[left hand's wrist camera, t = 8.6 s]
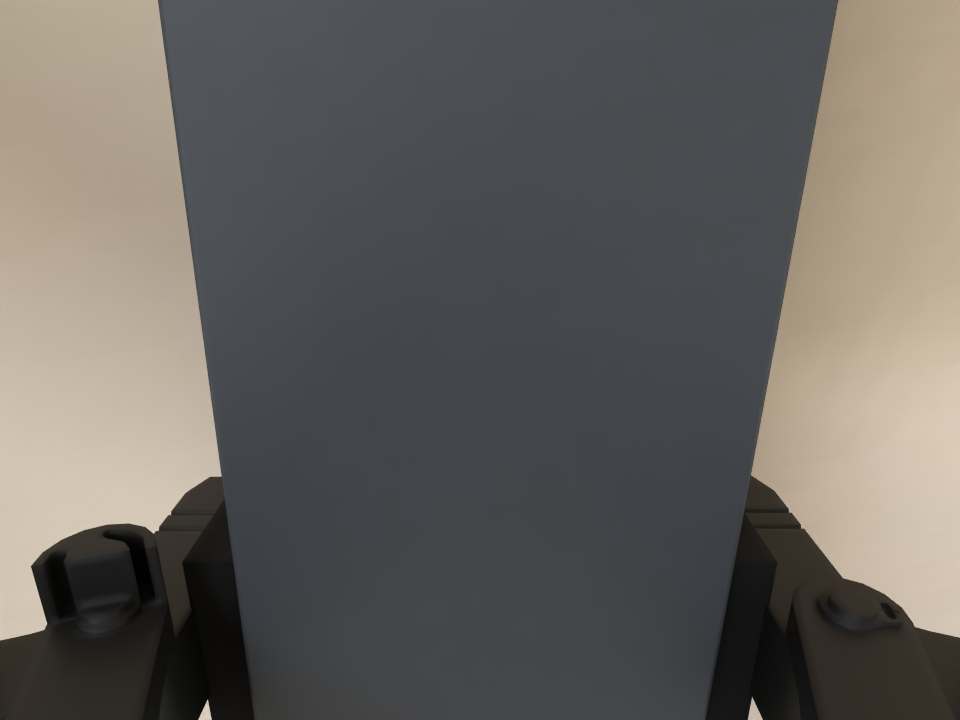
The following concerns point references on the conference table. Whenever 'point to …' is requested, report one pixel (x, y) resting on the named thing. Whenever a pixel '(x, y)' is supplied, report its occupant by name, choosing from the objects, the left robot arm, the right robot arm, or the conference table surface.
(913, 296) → the conference table surface
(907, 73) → the conference table surface
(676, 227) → the beam
